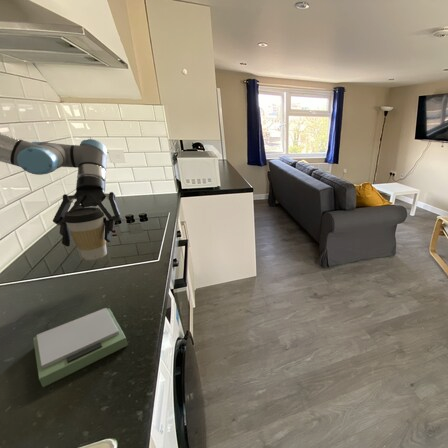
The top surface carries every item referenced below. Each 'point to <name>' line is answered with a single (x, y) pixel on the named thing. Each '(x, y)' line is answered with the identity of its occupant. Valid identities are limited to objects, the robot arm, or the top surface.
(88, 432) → the top surface
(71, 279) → the top surface
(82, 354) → the kitchen scale
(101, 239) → the coffee cup
